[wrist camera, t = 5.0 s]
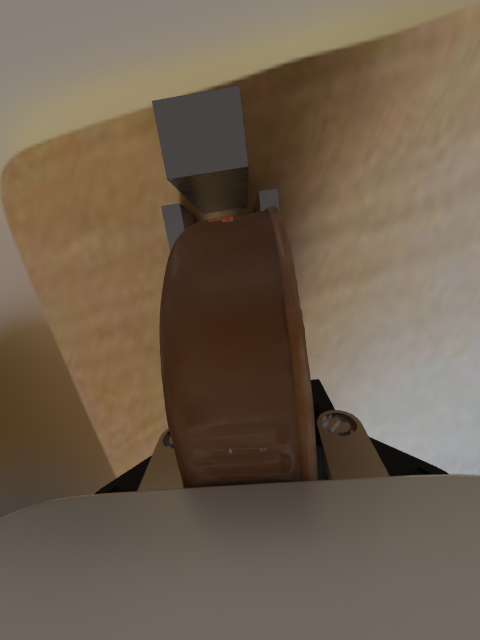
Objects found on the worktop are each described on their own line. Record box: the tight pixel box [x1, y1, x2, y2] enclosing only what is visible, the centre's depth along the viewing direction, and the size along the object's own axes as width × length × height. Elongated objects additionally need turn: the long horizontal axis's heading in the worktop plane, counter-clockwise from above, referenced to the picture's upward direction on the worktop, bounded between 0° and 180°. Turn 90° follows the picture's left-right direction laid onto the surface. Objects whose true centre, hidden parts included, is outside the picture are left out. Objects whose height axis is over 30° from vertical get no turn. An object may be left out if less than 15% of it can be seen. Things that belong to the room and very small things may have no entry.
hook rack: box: [152, 86, 280, 251], centre depth 15 cm, size 6×23×8 cm, turn 8°
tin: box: [160, 206, 318, 488], centre depth 9 cm, size 15×3×8 cm, turn 8°
